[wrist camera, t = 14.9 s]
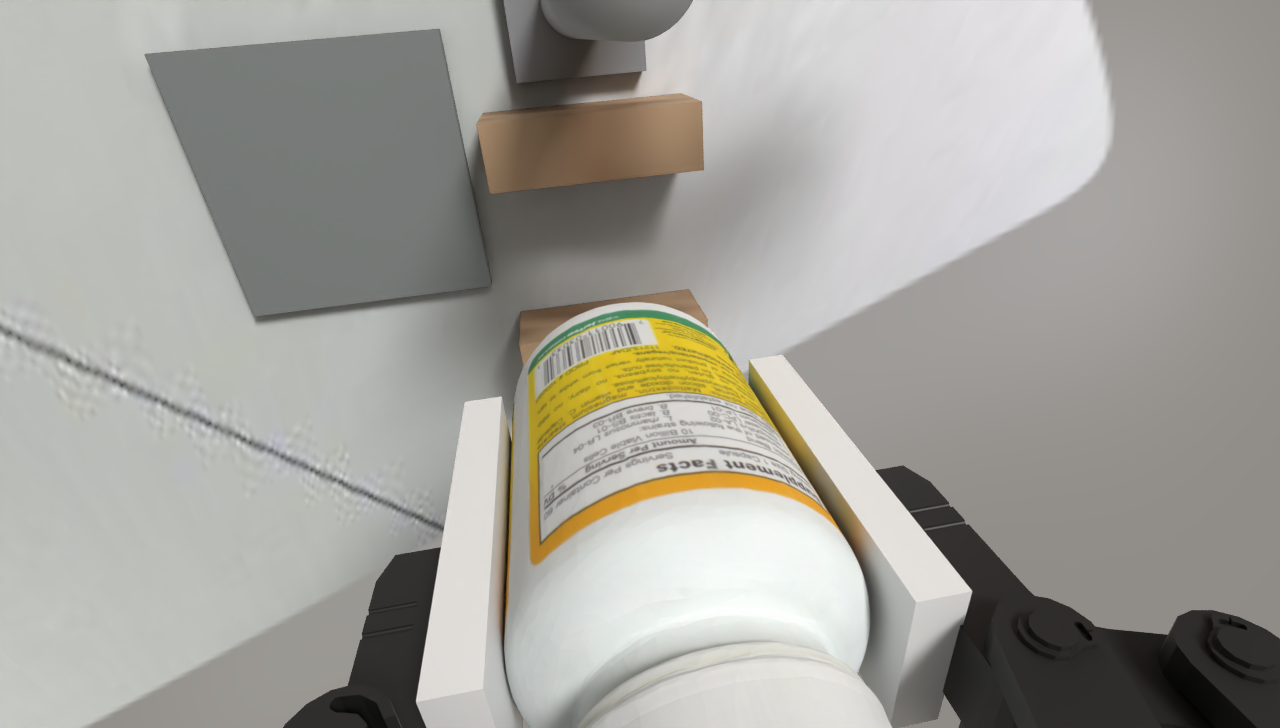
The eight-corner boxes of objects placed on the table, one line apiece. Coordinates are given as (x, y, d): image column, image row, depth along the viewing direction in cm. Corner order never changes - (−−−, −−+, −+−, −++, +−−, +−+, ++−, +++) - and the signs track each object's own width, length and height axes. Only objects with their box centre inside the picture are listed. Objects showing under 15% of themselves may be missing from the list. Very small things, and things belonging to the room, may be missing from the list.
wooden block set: (528, 357, 29) (528, 394, 26) (448, -72, 21) (435, -90, 18) (690, 334, 30) (708, 367, 27) (673, -87, 22) (696, -107, 19)
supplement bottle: (568, 258, 13) (650, 674, 4) (774, 344, 15) (1104, 753, 6) (478, 455, 15) (418, 1003, 6) (670, 509, 17) (817, 991, 8)
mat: (258, 312, 26) (254, 316, 26) (152, 53, 22) (143, 54, 21) (491, 282, 27) (491, 286, 27) (439, 29, 23) (437, 28, 22)
